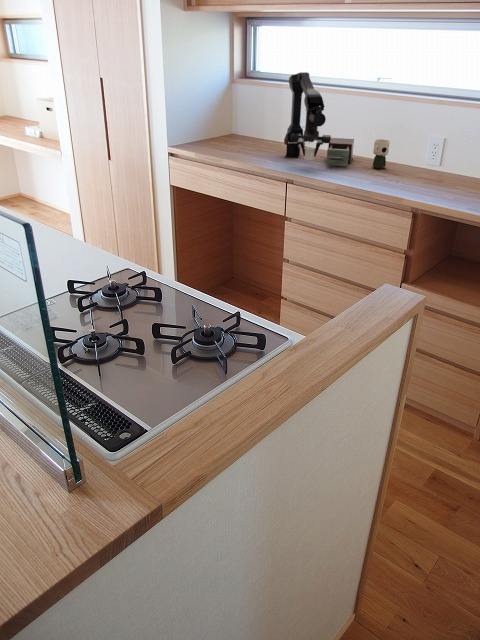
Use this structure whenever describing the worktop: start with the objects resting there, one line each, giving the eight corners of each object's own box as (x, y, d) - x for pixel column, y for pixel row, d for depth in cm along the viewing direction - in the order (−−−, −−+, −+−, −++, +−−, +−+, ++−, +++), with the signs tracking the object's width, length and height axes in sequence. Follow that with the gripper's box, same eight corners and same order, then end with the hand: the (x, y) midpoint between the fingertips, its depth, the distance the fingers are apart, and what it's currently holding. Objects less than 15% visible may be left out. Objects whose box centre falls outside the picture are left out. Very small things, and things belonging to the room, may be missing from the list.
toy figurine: (378, 171, 260) (381, 143, 253) (365, 168, 264) (369, 141, 258) (391, 167, 266) (395, 140, 260) (379, 165, 271) (382, 138, 264)
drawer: (346, 168, 260) (348, 152, 256) (325, 167, 262) (326, 150, 258) (349, 160, 274) (351, 145, 270) (328, 159, 277) (330, 143, 273)
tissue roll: (303, 159, 260) (304, 148, 257) (305, 157, 264) (305, 146, 261) (313, 160, 259) (314, 149, 256) (315, 158, 263) (315, 147, 260)
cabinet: (350, 163, 272) (352, 144, 268) (327, 162, 275) (328, 142, 270) (352, 157, 284) (354, 139, 279) (329, 156, 286) (331, 137, 282)
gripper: (289, 124, 248) (287, 159, 256) (330, 126, 244) (327, 161, 252) (293, 120, 258) (291, 154, 265) (332, 122, 254) (329, 156, 261)
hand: (309, 156), depth 261 cm, fingers closed on tissue roll, 5 cm apart
